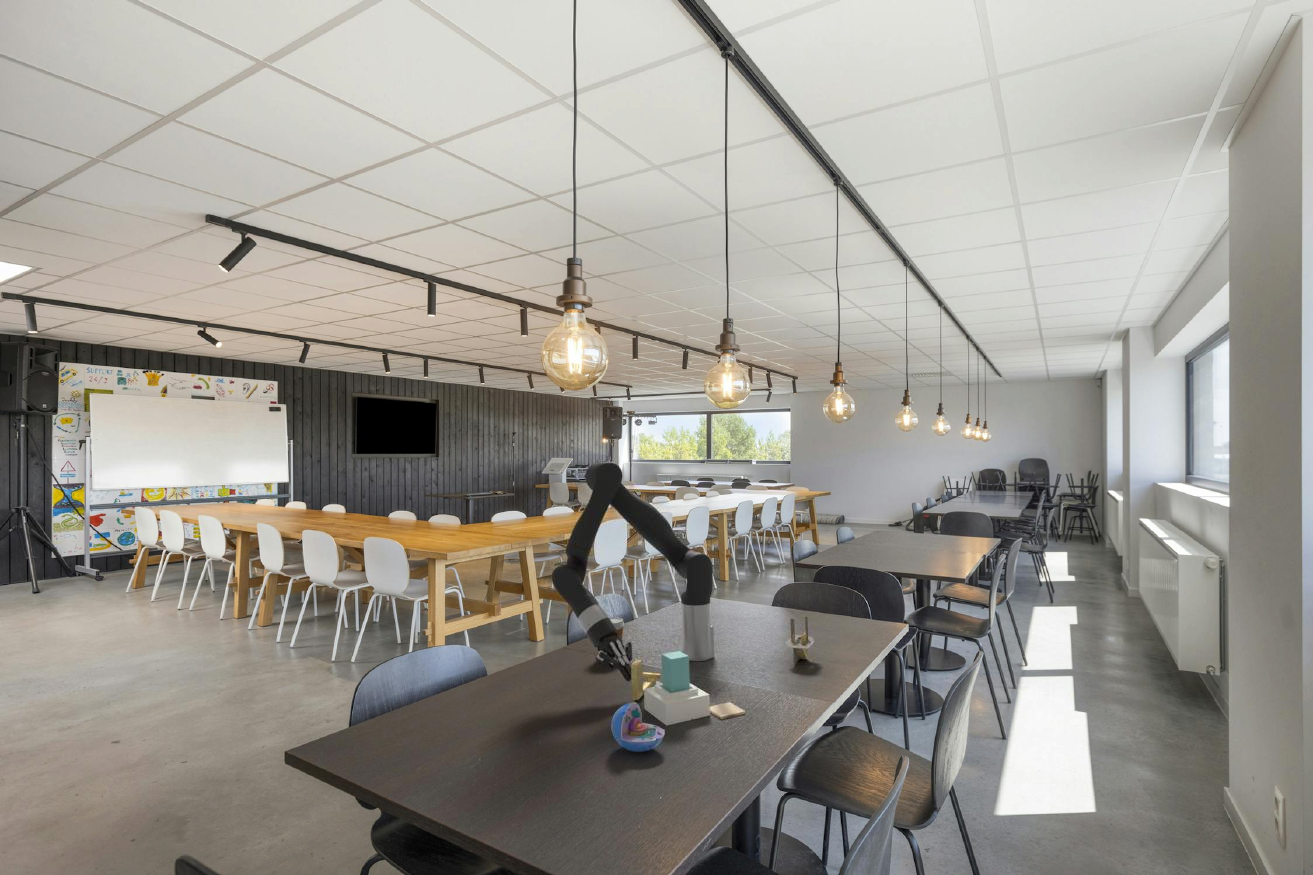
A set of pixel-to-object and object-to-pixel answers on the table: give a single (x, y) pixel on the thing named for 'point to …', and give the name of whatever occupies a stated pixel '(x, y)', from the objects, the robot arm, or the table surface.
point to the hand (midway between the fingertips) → (631, 678)
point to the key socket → (655, 684)
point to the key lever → (641, 679)
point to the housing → (676, 704)
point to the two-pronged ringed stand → (794, 642)
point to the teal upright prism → (675, 671)
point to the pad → (726, 710)
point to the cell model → (634, 729)
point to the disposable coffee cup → (618, 625)
